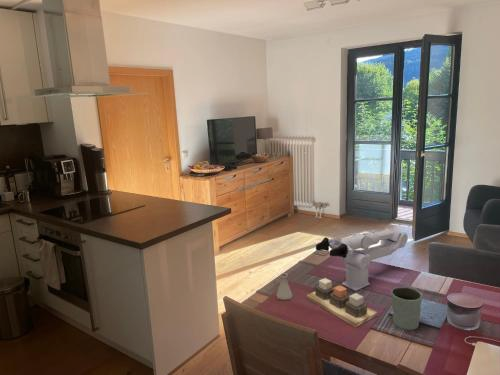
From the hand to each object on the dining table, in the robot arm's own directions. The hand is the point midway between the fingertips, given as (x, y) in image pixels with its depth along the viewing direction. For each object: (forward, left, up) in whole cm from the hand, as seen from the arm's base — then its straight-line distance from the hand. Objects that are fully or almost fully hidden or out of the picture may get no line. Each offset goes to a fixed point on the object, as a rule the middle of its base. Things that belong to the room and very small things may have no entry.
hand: (323, 250), depth 147 cm
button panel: (-1, +8, -22) cm, 23 cm away
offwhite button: (-1, 0, -17) cm, 17 cm away
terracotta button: (-1, +8, -17) cm, 19 cm away
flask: (+11, -12, -22) cm, 27 cm away
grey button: (-1, +16, -17) cm, 23 cm away
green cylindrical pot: (-11, +30, -22) cm, 39 cm away
